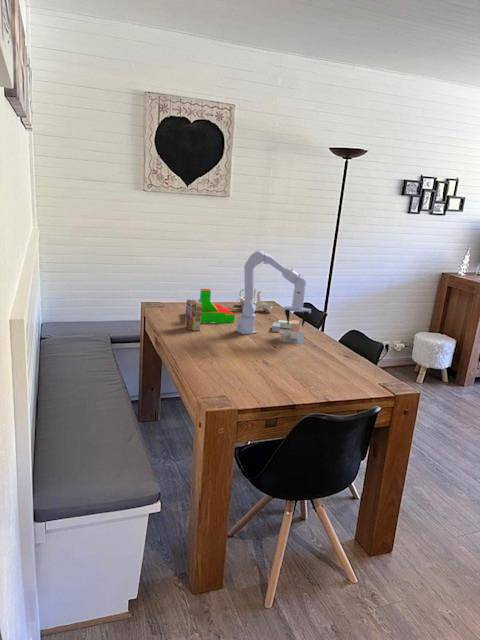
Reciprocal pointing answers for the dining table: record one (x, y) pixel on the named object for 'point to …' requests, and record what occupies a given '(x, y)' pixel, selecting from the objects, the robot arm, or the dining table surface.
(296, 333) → the cream brick
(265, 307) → the chinaware
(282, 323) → the sage brick
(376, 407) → the dining table surface
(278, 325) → the slate brick
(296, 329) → the terracotta brick
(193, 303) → the candy box
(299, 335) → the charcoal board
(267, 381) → the dining table surface
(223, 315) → the building blocks toy
